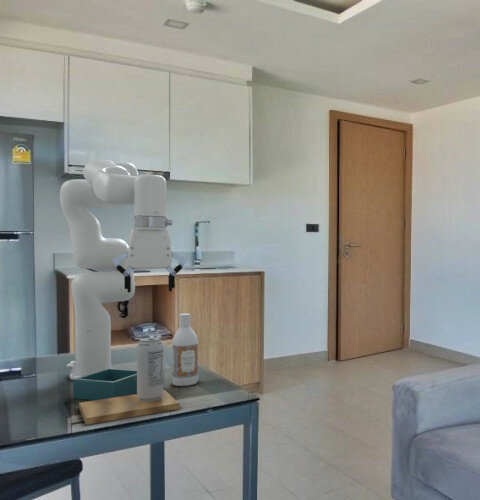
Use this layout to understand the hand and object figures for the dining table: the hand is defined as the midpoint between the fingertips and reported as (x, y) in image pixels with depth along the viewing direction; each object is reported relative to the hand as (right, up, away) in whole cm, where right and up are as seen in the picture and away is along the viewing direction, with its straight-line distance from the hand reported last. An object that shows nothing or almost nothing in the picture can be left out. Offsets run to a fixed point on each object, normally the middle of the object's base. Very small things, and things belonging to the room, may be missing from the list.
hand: (149, 291), depth 135 cm
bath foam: (+3, -28, +18) cm, 33 cm away
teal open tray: (-14, -28, +8) cm, 32 cm away
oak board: (-3, -28, -6) cm, 29 cm away
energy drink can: (+1, -27, -3) cm, 27 cm away
